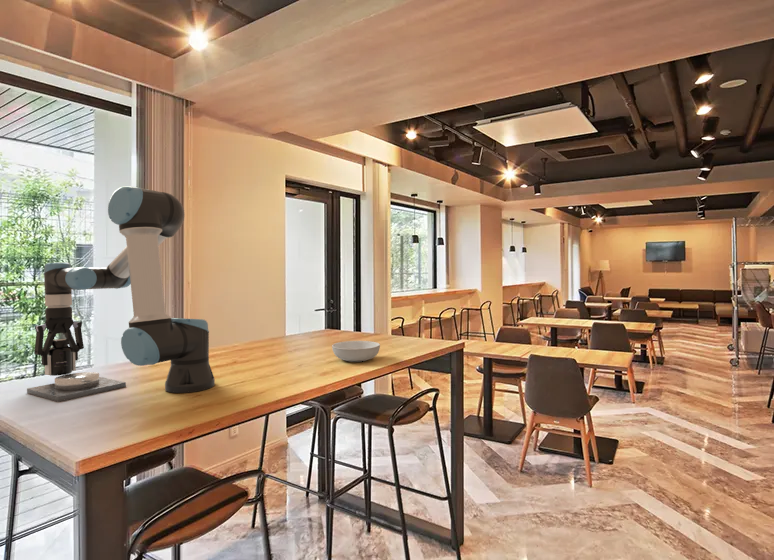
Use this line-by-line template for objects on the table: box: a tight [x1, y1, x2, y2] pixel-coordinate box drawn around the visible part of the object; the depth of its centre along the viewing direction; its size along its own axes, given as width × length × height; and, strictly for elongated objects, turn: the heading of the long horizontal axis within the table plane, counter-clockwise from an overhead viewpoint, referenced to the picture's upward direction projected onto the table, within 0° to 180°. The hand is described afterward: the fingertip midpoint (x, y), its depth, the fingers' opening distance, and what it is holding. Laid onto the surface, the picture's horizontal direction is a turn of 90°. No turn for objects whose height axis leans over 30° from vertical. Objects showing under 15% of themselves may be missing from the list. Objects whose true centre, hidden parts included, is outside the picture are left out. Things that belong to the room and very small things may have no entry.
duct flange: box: [26, 371, 127, 403], centre depth 146 cm, size 20×20×4 cm
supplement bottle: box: [48, 338, 73, 377], centre depth 156 cm, size 7×7×12 cm
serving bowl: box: [331, 340, 381, 363], centre depth 193 cm, size 21×21×7 cm
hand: (60, 372), depth 156 cm, fingers closed on supplement bottle, 7 cm apart
